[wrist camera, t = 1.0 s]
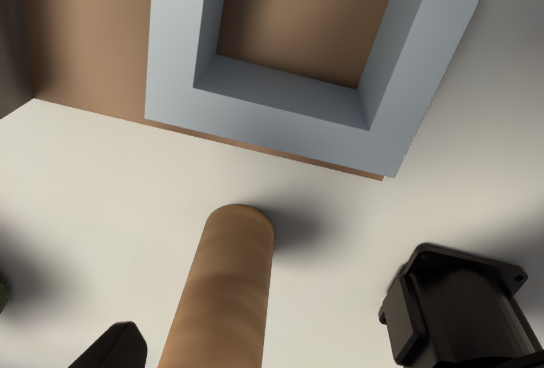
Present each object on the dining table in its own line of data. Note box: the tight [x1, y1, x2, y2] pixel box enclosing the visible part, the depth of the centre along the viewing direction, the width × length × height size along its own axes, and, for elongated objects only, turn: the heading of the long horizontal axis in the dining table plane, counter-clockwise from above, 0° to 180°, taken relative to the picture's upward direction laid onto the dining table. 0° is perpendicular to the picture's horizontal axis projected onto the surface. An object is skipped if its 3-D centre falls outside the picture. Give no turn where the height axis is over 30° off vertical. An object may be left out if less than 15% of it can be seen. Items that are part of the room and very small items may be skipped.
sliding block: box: [144, 0, 479, 178], centre depth 13 cm, size 9×9×4 cm
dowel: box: [157, 204, 275, 368], centre depth 19 cm, size 4×4×10 cm
